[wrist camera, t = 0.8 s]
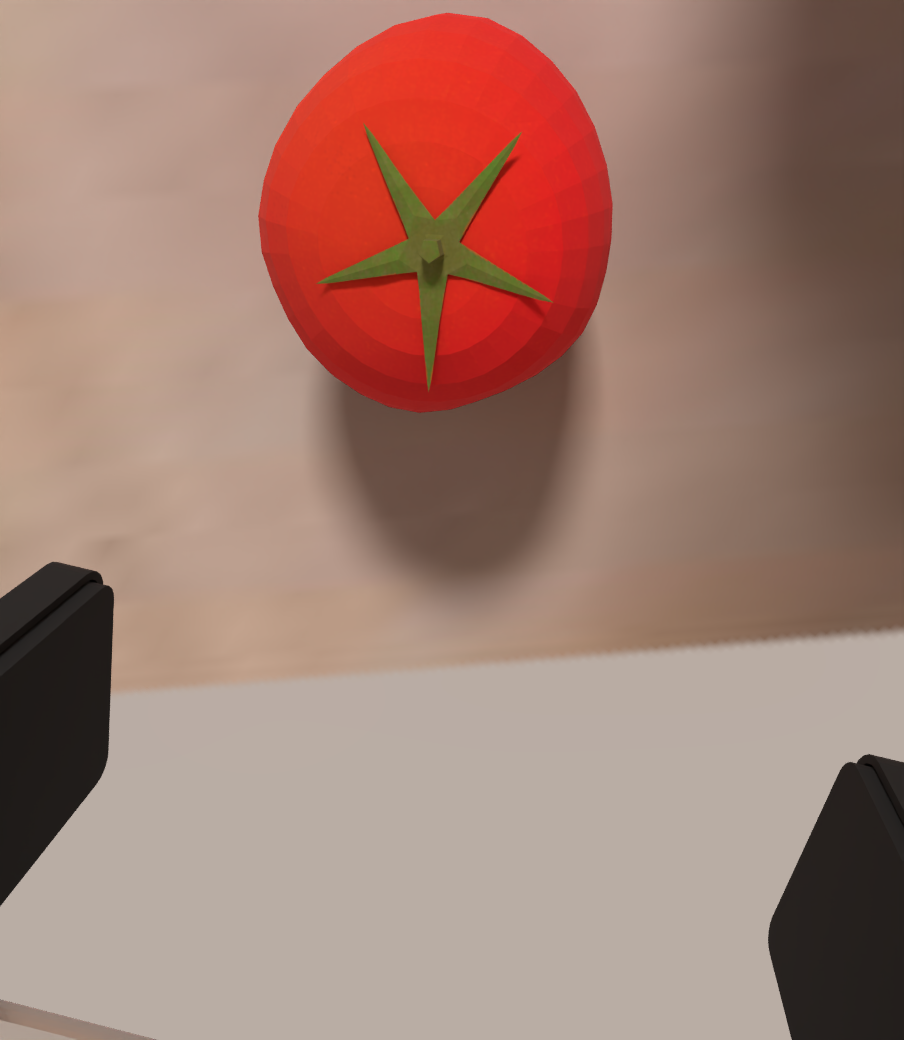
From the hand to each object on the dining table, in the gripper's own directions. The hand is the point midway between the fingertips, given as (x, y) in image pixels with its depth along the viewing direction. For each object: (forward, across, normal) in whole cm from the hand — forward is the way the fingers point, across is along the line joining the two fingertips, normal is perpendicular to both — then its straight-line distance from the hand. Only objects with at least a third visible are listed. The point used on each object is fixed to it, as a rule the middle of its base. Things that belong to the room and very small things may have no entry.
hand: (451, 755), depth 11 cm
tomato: (+28, +4, -4) cm, 29 cm away
